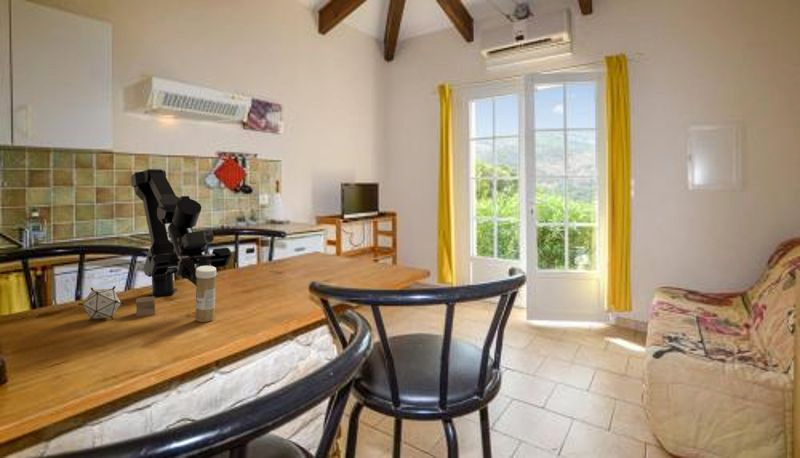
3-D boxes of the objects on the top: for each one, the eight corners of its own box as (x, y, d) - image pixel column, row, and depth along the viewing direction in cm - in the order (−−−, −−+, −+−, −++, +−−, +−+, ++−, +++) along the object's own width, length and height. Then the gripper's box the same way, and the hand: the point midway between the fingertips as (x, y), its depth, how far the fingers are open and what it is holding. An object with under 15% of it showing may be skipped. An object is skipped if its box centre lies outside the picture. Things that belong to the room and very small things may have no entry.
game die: (105, 335, 102) (93, 311, 95) (78, 321, 103) (64, 296, 97) (135, 309, 109) (126, 285, 102) (109, 296, 110) (98, 271, 103)
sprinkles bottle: (191, 317, 103) (192, 266, 100) (209, 313, 106) (211, 263, 103) (200, 324, 100) (201, 272, 97) (218, 319, 104) (219, 269, 101)
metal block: (137, 313, 108) (136, 298, 108) (155, 310, 110) (154, 296, 110) (136, 317, 105) (136, 302, 104) (155, 315, 107) (154, 300, 106)
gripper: (149, 222, 98) (167, 274, 92) (227, 217, 112) (247, 263, 105) (142, 251, 105) (158, 301, 98) (216, 243, 118) (235, 288, 112)
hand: (202, 287), depth 103 cm, fingers closed
